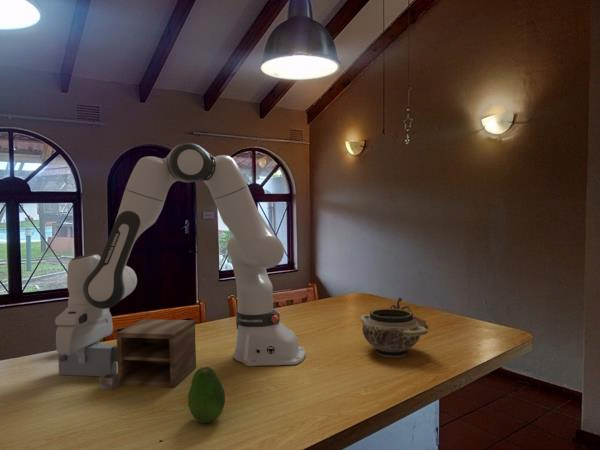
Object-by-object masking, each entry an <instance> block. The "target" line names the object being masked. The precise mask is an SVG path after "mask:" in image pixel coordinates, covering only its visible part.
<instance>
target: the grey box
mask: <svg viewBox="0 0 600 450" xmlns="http://www.w3.org/2000/svg"><path fill="white" fill-rule="evenodd" d="M84 354H85V356H87V360H88V361H87V362H85V363H83V364H81V363H79V362H78V357H77V355H76V353H73V354H71V355H60V354H59V353H58V352H57V358H58V362H57V363H58V375H60V376H61V375H62V376H84V377H85V376H86V377H102V376H103V375H105V374H106V373H118V360H117V344H99V345H98V344H91V345H89V346H87V347H85V351H84Z"/></svg>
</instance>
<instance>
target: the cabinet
mask: <svg viewBox="0 0 600 450" xmlns="http://www.w3.org/2000/svg"><path fill="white" fill-rule="evenodd" d="M116 347H117V360H118V362H117V373H106V374H105V375H103V376H99V379H98V382H99V388H98V389H99V390H103V391H114V390H115V389H116V388H118V387H119V386H133V387H134V386H136V387H153V388H155V387H156V388H175V389H176V387H177V386H178V385H180V383H182V382H183V381H184V380H185V379H186V378H187V377H188V376H189V375H190V374H192V372H193V371H195V370H196V369H197V355H196V354H197V353H196V351H197V348H196V321H195V320H194V319H190V320H189V319H159V318H158V319H154V318H153V319H149V318H148V319H147V318H144V319H142V320H139V321H137V322H136V323H135V322H134V323H133V324H132V325H129V326H126V327H125V328H123V329H121V330H119V331H118V332H116Z"/></svg>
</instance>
